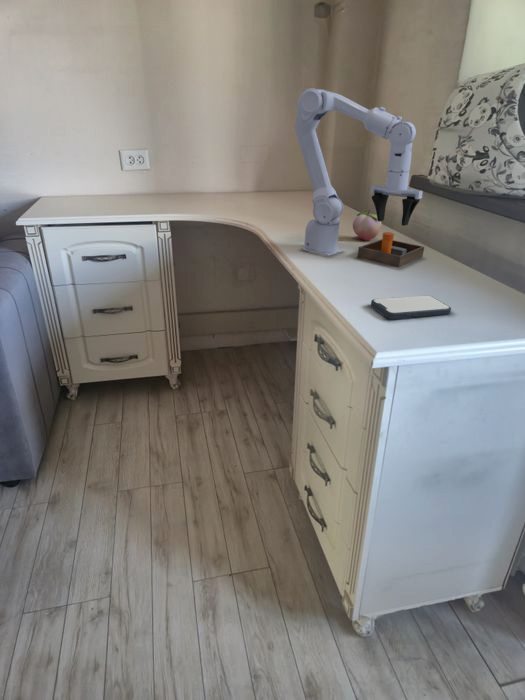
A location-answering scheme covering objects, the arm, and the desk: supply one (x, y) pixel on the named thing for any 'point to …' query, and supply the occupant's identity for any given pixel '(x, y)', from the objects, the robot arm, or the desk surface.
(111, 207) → the desk surface
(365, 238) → the decorative fruit
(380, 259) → the box
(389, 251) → the glue stick
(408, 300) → the phone case
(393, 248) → the eraser
